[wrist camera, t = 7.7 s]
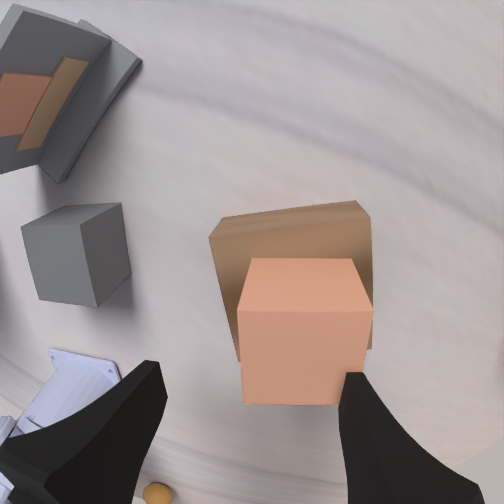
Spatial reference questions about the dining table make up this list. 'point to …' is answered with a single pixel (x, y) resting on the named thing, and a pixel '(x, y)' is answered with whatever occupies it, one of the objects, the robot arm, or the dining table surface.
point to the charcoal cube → (78, 253)
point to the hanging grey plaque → (54, 88)
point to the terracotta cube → (301, 329)
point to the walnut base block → (290, 245)
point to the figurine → (157, 494)
